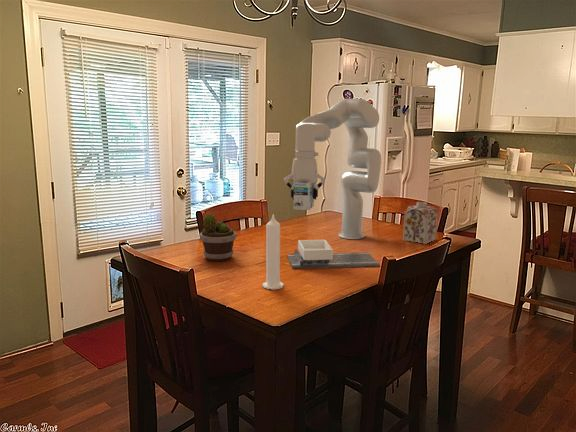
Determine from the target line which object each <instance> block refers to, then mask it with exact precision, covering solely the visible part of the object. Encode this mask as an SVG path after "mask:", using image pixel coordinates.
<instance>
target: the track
mask: <svg viewBox="0 0 576 432" xmlns="http://www.w3.org/2000/svg"><path fill="white" fill-rule="evenodd" d="M286 255H287V256H286V257H287V259H288V263H289V264H290V266H291V269H292V270H301V269H302V270H303V269H305V270H306V269H332V268H333V269H335V268H366V267H365V266H375V267H380V263H379V261H377V260H376V259H375V258H374V257H373V256H372V255H371V254H370V253H369V251H368V252H366V251H365V252H364V251H363V252H339V253H338V252H335V253H334V252H333V259H330V262H329V263H328V264H326V263H325V262H324V260H311V261H312V262H311V264H307V263H306V260H303V258H302V256H301V254H300V252H299V250H298V249H294V253H293V254H291V253H290V254H289V253H288V254H286Z"/></svg>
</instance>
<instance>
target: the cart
mask: <svg viewBox="0 0 576 432" xmlns="http://www.w3.org/2000/svg"><path fill="white" fill-rule="evenodd" d="M297 251H298V252H299V254H301V256H302V258H303V260H306V263H307V264H311V262H312V261H311V260H324V262H325V263H326V264H328V263H329V262H330V259H333V253H334V250H333V247H332V246H331V245H330V244H329V242H328V241H327V240H326V239H306V240H305V239H303V240H302V239H301V240H300V239H298V240H297Z"/></svg>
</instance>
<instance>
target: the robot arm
mask: <svg viewBox="0 0 576 432" xmlns="http://www.w3.org/2000/svg"><path fill="white" fill-rule="evenodd" d="M379 123H380V114H379V111H378V110H377V109H376V108H375V107H374V106H373V105H372V104H371V103H370V102H369V101H367V100H366V99H364V98H343V99H340V100H339V101H337V102H336V103H335V104H333V105H332V106H330V108H328V109H327V110H324V111H320V112H318V113H315V114H312V115H309V116H308V117H306V118H304V119H303V120H302V121H301V122H299V123H297V124H296V125H295V152H294V153H295V154H294V155H295V157H294V158H293V159H292V167H291V173H290V174H288V175H287V176H285V177H284V178H283V181H284V183H285V185H287V187H288V188H289V189H290V198H292V200H293V201H294V182H312V184H313V186H314V192H313V198H314V201H315V200H317V198H318V196H319V195H318V193H319V189H320V188H321V186H323V184H324V183H326V178H324V177H323V176H322V175H320V174H319V173H318V164H317V163H318V162H317V159H316V157H317V156H319V152H317V151H315V150H316V149H315V146H316V144H315V142H317V143H324V142H326V141H327V140H329V138H330V137H331V130H334V129H337V128H339V127H340V126H342V125H343V124H344V126H345V128H346V130H347V132H348V134H349V141H348V142H349V143H348V151H347V165H348V167H350V168H353V169H364V170H367V171H361V170H347V171H345V172H344V173H342V176H341V179H340V180H341V181H340V183H341V189H342V210H341V211H342V215H341V218H342V219H341V231H339V232H338V237H339V238H342V239H345V240H346V239H347V240H361V239H364V238H365V237H366V235H365V233H363V232H362V231H363V209H364V208H363V207H364V203H363V202H364V200H363V196H362V194H361V193H367V194H374V193H375V192H376V191H377V189H378V188H379V183H380V173H381V167H382V154H381V152H380V151H379V149H376V148H369V147H368V142H369V136H368V134H367V132H366V130H365V129H366V128H367V129H374V128H376V127H377V126H378V125H379ZM290 179H291V182H292V183H290V181H289V180H290ZM318 179H319V180H320V181H319V183H318Z"/></svg>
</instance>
